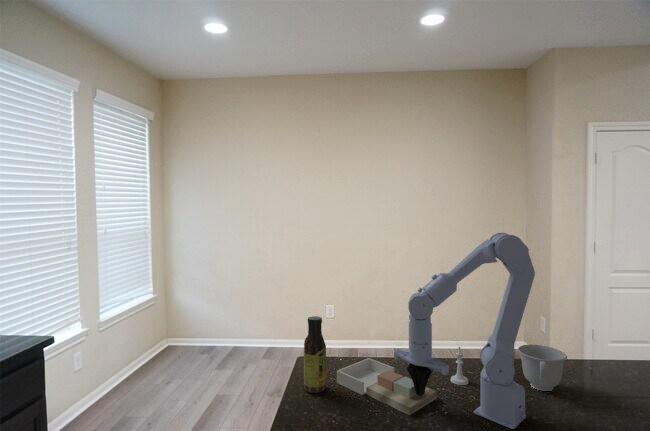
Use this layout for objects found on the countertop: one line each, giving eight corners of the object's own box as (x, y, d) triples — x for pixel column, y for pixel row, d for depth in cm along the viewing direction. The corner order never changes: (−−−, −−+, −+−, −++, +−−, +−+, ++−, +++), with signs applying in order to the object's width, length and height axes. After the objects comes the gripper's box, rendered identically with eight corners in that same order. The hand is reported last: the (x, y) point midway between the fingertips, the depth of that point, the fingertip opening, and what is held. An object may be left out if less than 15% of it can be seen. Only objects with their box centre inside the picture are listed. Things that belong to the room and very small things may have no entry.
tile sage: (420, 392, 98) (420, 382, 98) (409, 398, 95) (409, 388, 95) (404, 385, 102) (404, 376, 102) (393, 391, 98) (393, 382, 98)
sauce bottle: (323, 395, 101) (323, 322, 101) (301, 393, 102) (300, 320, 102) (328, 384, 107) (327, 315, 107) (307, 382, 108) (306, 314, 108)
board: (436, 398, 99) (436, 391, 99) (409, 415, 91) (409, 407, 91) (393, 381, 109) (393, 374, 109) (366, 394, 101) (366, 387, 101)
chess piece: (465, 377, 111) (465, 344, 111) (470, 385, 106) (470, 350, 106) (448, 377, 111) (448, 343, 111) (452, 384, 106) (452, 350, 106)
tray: (394, 379, 110) (394, 367, 110) (362, 395, 101) (362, 382, 101) (368, 369, 117) (368, 357, 117) (336, 382, 108) (336, 370, 108)
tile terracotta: (403, 385, 102) (403, 375, 102) (392, 390, 99) (392, 381, 99) (388, 379, 106) (388, 370, 106) (377, 384, 103) (377, 375, 103)
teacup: (517, 396, 100) (517, 359, 99) (517, 374, 113) (517, 341, 113) (571, 407, 94) (571, 367, 94) (565, 383, 107) (565, 348, 107)
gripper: (454, 343, 93) (454, 398, 93) (404, 331, 103) (404, 380, 103) (441, 351, 88) (441, 408, 88) (389, 337, 98) (389, 388, 98)
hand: (420, 394), depth 95 cm, fingers closed
